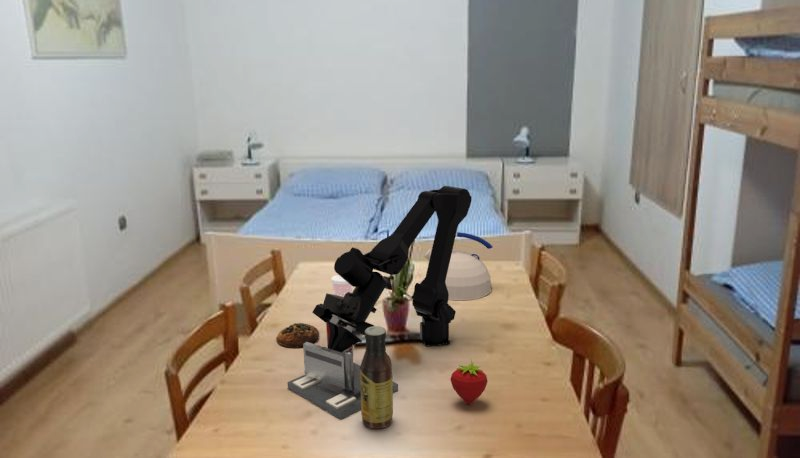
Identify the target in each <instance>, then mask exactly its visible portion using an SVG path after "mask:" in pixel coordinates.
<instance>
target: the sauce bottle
mask: <svg viewBox="0 0 800 458" xmlns="http://www.w3.org/2000/svg"><path fill="white" fill-rule="evenodd" d="M364 338H365V351H364V353H363V354H364V355H363V356H362V357H363V358H362V360H361V363H360V389H361V410H360V412H361V413H360V415H361V421H362V423H363V424H364V425H365V426H366V427H367V428H369V429H377V430H378V429H383V428H386V427H389V426H390V425H391V423H392V420H393V414H394V399H393V398H394V397H393V396H394V395H393V394H394V393H393V382H394V381H393V371H392V369H393V368H392V367H393V364H392V363H393V362H392V359H391V357H390V356H389V355H388V352H386V351H387V347H386V338H387V330H386V328H385V327H383V326H379V325H374V326H372V327H369V328H367V329H366V330H365V336H364Z"/></svg>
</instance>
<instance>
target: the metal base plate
mask: <svg viewBox="0 0 800 458" xmlns="http://www.w3.org/2000/svg"><path fill="white" fill-rule="evenodd" d="M360 366H361V364H357V363H355V362H354V361H353V370H354V390H351V391H349V390H347V388H342V387H339V386H336V385H333V384H330V383H328V382H325V381H322V380H321V382H318V383H316V384H314V385H312V386H310V387H307V388H305V389H301V388H299V387H297V386H296V385H294V384H293V382H294V381H296V380H299V379H301V378H303V377H306V376H308V375H305V374H303V375H301V376H299V377H296V378H293V379H292V380H289V381H287V389H288V390H289V391H291V392H294V393H295V394H297V395H298V396H300V397H302V398H303V399H305V400H307V401H308V402H310V403H311V404H313V405H315V406H316V407H318V408H319V409H322V410H324V411H326V412H327V413H328V414H330V415H332V416H333V417H335V418H336V419H339V420H340V421H341V420H343V419H345V418H347V417H349V416H351V415H353V414H355V413H356V412H359V411H361V389H360ZM397 391H399V384H398V383H397V382H395V381H393V394H394V393H395V392H397ZM339 394H342V395H344V396H346V397H348V398H351V397H355V398H356V400H355V401H353V402H351V403H349V404H347V405H345V406H343V407H341V408H339V409H336V408H334V407H333V406H331V405H329V404H327V403H326V401H327V400H329V399H331V398H333V397H335V396H337V395H339Z"/></svg>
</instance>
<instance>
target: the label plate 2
mask: <svg viewBox="0 0 800 458" xmlns="http://www.w3.org/2000/svg"><path fill="white" fill-rule="evenodd" d="M355 400H356V398H355V397H351V398H348V397H346V396H344V395H342V394H339V395H337V396H335V397H333V398H331V399H329V400H327V401H326V403H327V404H329V405H331V406H333V407H334V408H336V409H339V408H341V407H343V406H345V405H347V404H349V403H351V402H353V401H355Z"/></svg>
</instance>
